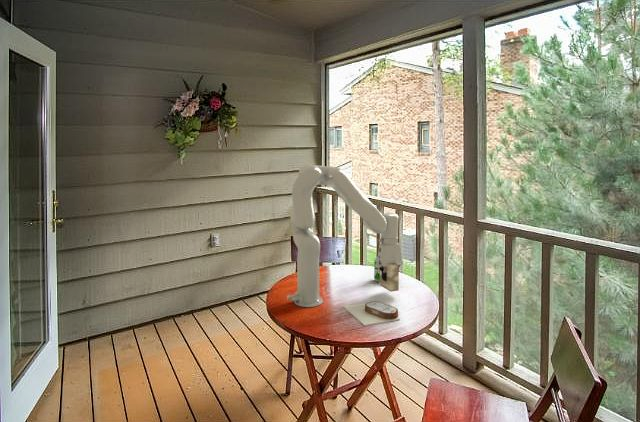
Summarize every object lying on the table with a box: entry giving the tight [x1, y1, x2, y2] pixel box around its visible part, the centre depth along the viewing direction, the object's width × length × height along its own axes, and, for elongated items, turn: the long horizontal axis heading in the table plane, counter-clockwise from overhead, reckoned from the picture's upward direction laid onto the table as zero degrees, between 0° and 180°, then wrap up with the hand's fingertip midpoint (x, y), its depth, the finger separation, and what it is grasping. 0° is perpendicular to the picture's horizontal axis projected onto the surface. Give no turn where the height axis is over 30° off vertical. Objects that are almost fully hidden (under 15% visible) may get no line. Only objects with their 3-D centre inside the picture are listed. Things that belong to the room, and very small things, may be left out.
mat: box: [343, 301, 401, 327], centre depth 180 cm, size 16×20×1 cm
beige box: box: [379, 263, 400, 292], centre depth 199 cm, size 4×10×12 cm, turn 21°
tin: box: [365, 300, 399, 319], centre depth 179 cm, size 15×3×8 cm
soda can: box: [373, 256, 380, 283], centre depth 220 cm, size 8×8×12 cm
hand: (388, 279), depth 200 cm, fingers closed on beige box, 4 cm apart
